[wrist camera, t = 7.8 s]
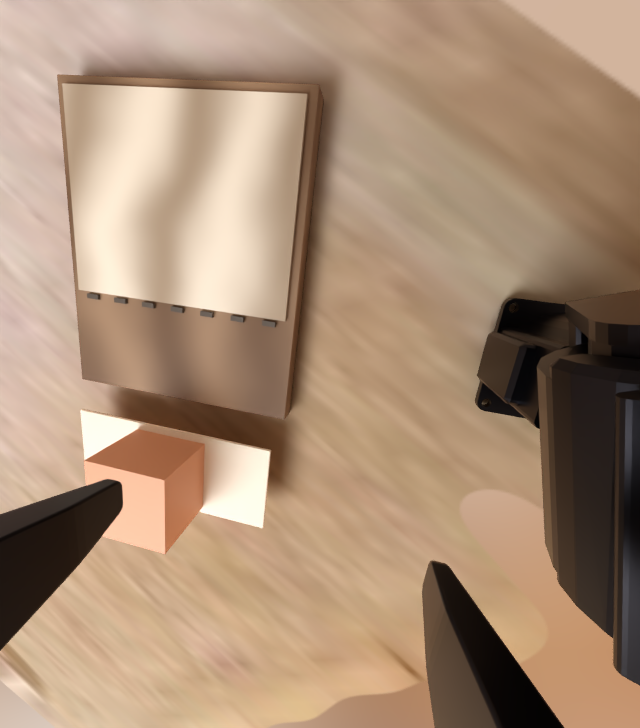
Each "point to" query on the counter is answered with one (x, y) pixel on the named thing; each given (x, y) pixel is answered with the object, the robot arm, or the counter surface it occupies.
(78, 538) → the robot arm
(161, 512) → the butter dish
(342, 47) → the counter surface
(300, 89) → the board
